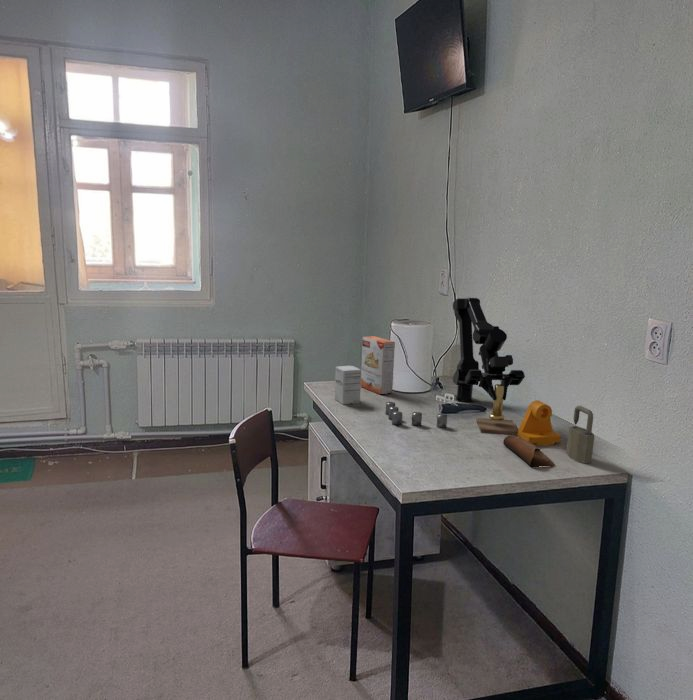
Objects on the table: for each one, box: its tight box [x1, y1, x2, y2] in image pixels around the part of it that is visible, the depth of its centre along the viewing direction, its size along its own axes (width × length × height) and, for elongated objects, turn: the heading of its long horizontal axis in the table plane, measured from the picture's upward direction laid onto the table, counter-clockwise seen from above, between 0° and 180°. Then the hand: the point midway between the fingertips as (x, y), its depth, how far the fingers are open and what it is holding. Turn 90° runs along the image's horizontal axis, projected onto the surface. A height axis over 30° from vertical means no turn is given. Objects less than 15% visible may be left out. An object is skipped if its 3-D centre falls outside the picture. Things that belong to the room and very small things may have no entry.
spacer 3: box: [391, 410, 403, 427], centre depth 192 cm, size 3×3×4 cm
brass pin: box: [488, 383, 505, 420], centre depth 192 cm, size 5×5×11 cm
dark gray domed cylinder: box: [411, 411, 423, 428], centre depth 192 cm, size 3×3×4 cm
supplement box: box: [334, 365, 362, 405], centre depth 216 cm, size 7×7×13 cm
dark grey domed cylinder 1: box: [385, 401, 396, 416], centre depth 203 cm, size 3×3×4 cm
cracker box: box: [360, 335, 396, 395], centre depth 232 cm, size 14×6×21 cm, turn 33°
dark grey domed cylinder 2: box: [388, 405, 399, 421], centre depth 198 cm, size 3×3×4 cm
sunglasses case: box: [502, 434, 557, 468], centre depth 168 cm, size 18×7×7 cm, turn 10°
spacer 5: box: [436, 413, 448, 429], centre depth 191 cm, size 3×3×4 cm
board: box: [475, 417, 519, 436], centre depth 193 cm, size 12×12×1 cm
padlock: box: [565, 405, 595, 464], centre depth 167 cm, size 4×8×15 cm, turn 14°
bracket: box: [517, 400, 562, 447], centre depth 180 cm, size 11×7×12 cm, turn 103°
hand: (499, 399), depth 191 cm, fingers closed on brass pin, 3 cm apart
